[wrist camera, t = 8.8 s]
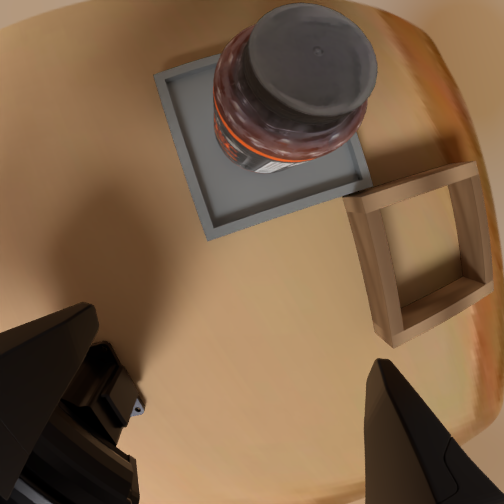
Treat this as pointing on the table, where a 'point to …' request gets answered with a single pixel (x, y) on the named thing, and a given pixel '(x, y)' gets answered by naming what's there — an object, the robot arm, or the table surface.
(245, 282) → the table surface
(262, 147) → the supplement bottle
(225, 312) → the table surface
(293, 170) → the slate tray
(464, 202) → the walnut collar
